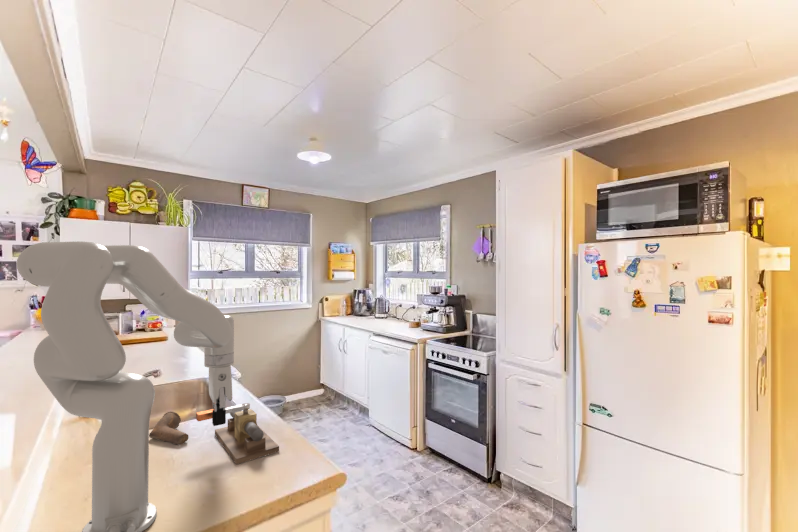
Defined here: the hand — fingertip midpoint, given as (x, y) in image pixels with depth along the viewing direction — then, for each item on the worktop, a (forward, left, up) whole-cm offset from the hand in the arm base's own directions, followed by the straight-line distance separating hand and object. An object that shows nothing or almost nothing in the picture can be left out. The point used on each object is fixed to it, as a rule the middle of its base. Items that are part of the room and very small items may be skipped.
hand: (219, 423), depth 107 cm
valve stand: (+5, -9, -10) cm, 14 cm away
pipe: (+24, +8, -10) cm, 27 cm away
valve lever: (+5, -3, 0) cm, 6 cm away
